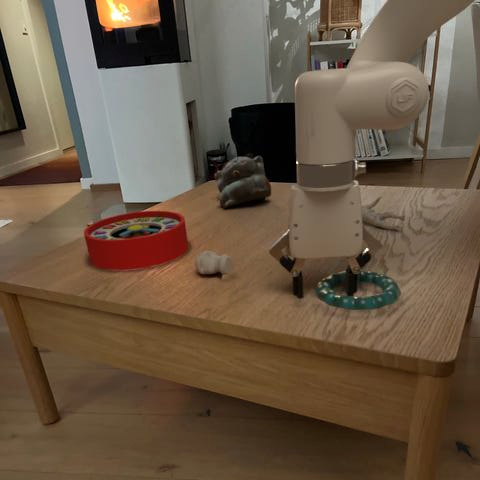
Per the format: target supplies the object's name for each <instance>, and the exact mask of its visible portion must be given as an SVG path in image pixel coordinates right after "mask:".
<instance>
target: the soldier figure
mask: <svg viewBox="0 0 480 480" xmlns="http://www.w3.org/2000/svg"><path fill="white" fill-rule="evenodd" d="M381 199H383V197H382V196H379V197H377V198H376V199H375V200H374V201H372V202H371V203H368V204H363V205H362V221H364V222H365V223H369V224H370V225H371V226H375V227H380V228H383V229H392V230H393V229H394V230H395V231H398V230H399V229H400V228H399V225H396V224H395V225H393V224H390V223H388V222H387V221H385V220H387V219H396V220H397V219H398V220H400V221H402V222H405V220H406V218H405V216H406V215H404V214H402V215H399V214H397V213H394V212H393V211H385V212H383V213H379V212H377V211H376V210H375V209H372V208H375V207H376V206H377V204H378V203H379V202H380V201H381ZM362 227H363V228H364V224H362Z"/></svg>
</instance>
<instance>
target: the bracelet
mask: <svg viewBox="0 0 480 480" xmlns="http://www.w3.org/2000/svg"><path fill="white" fill-rule="evenodd" d="M345 281H346V270H342V271H339V272H335V273H331V274H328V275H326V276H324V278H323V279H321V280H320V281H319V282H318V283H317V284H316V286H315V293H316V298H317V299H318V300H320V301H322V302H324V303H325V304H327V305H328V306H330V307H334V308H335V307H336V308H340V309H345V310H350V311H361V310H363V311H364V310H365V311H366V310H377V309H380V308H383V307H387V306H389V305H392V304H395V303H396V302H397V300H398V299H399V298H400V296H401V295H402V290H401V289H400V287H399V285H398V283H397V281H396V280H395V279H394V278H391V277H390V276H387V275H385V274H383V273H381V272H376V271H370V270H369V271H368V270H363V269H361V271H360V272H359V273H358V281H357V283H358V282H360V283H367V284H372V285H374V286H376V287H378V288H380V289H381V292H380V293H377V294H374V295H371V296H348V295H344V294H339V293H338V292H336V291H334V290H333V289H335V288H336V287H337V286H339V285H342V284H345Z"/></svg>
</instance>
